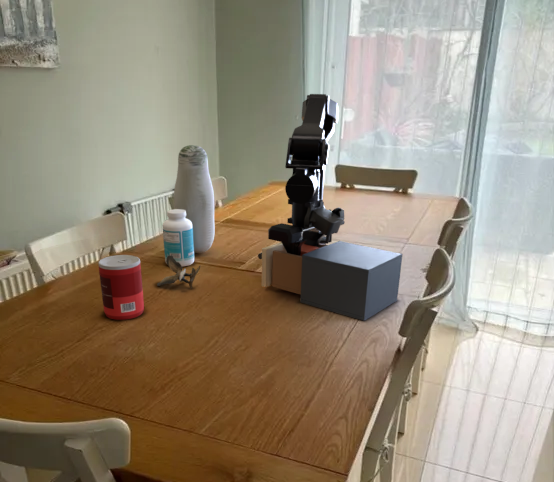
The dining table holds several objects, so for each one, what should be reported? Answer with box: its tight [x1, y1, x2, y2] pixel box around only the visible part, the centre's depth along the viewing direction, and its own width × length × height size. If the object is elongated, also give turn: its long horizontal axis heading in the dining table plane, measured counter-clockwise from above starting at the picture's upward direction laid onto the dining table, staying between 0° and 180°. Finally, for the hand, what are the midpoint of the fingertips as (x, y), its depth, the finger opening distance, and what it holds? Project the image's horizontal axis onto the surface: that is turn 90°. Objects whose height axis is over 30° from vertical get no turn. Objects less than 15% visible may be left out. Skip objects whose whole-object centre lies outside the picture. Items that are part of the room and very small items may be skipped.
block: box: [300, 244, 319, 256], centre depth 122 cm, size 5×5×5 cm
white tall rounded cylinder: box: [173, 144, 216, 254], centre depth 145 cm, size 10×10×28 cm
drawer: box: [257, 242, 328, 295], centre depth 124 cm, size 19×13×9 cm
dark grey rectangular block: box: [299, 240, 403, 322], centre depth 116 cm, size 16×15×11 cm
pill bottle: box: [161, 208, 195, 267], centre depth 138 cm, size 8×7×14 cm
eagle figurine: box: [156, 255, 201, 290], centre depth 124 cm, size 8×7×9 cm
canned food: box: [98, 254, 145, 321], centre depth 108 cm, size 8×8×11 cm
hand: (302, 264), depth 123 cm, fingers closed on block, 5 cm apart
